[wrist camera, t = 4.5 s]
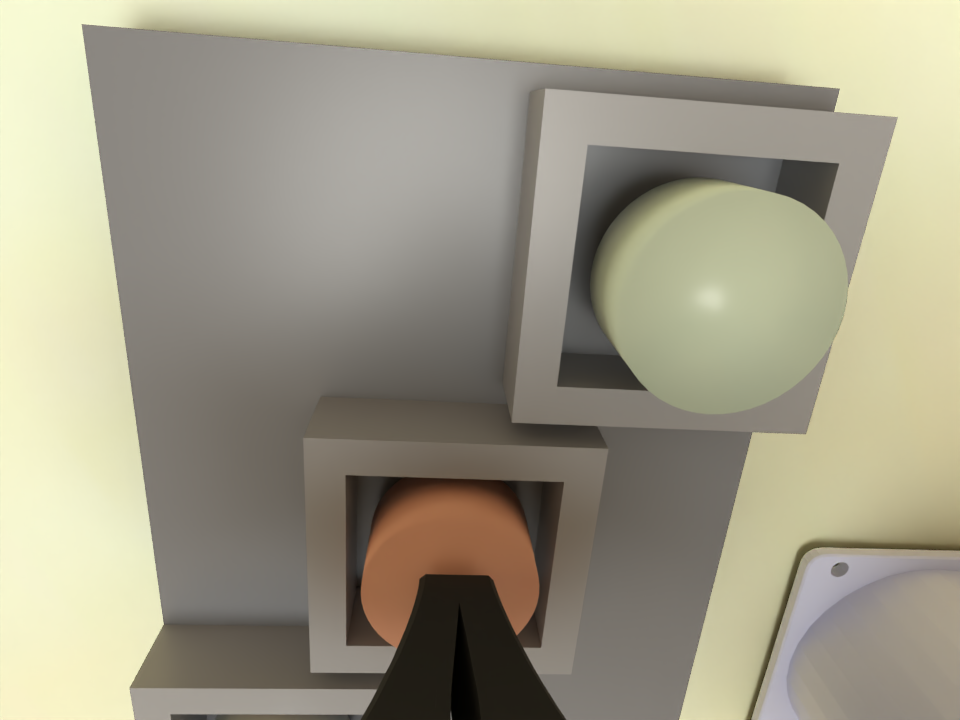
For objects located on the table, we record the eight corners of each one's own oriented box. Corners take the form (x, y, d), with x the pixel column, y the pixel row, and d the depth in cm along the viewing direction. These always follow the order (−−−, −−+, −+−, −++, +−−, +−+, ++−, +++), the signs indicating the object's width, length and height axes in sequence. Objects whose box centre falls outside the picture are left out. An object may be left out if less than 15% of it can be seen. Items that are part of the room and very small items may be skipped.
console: (787, 92, 14) (906, 85, 10) (640, 736, 21) (681, 864, 18) (132, 37, 13) (14, 7, 9) (211, 736, 20) (161, 873, 17)
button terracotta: (534, 467, 14) (548, 520, 12) (519, 595, 15) (529, 661, 14) (372, 461, 14) (361, 515, 12) (370, 593, 15) (360, 660, 13)
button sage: (805, 184, 11) (877, 198, 9) (757, 373, 12) (813, 419, 11) (605, 169, 11) (639, 181, 9) (577, 364, 12) (602, 409, 10)
